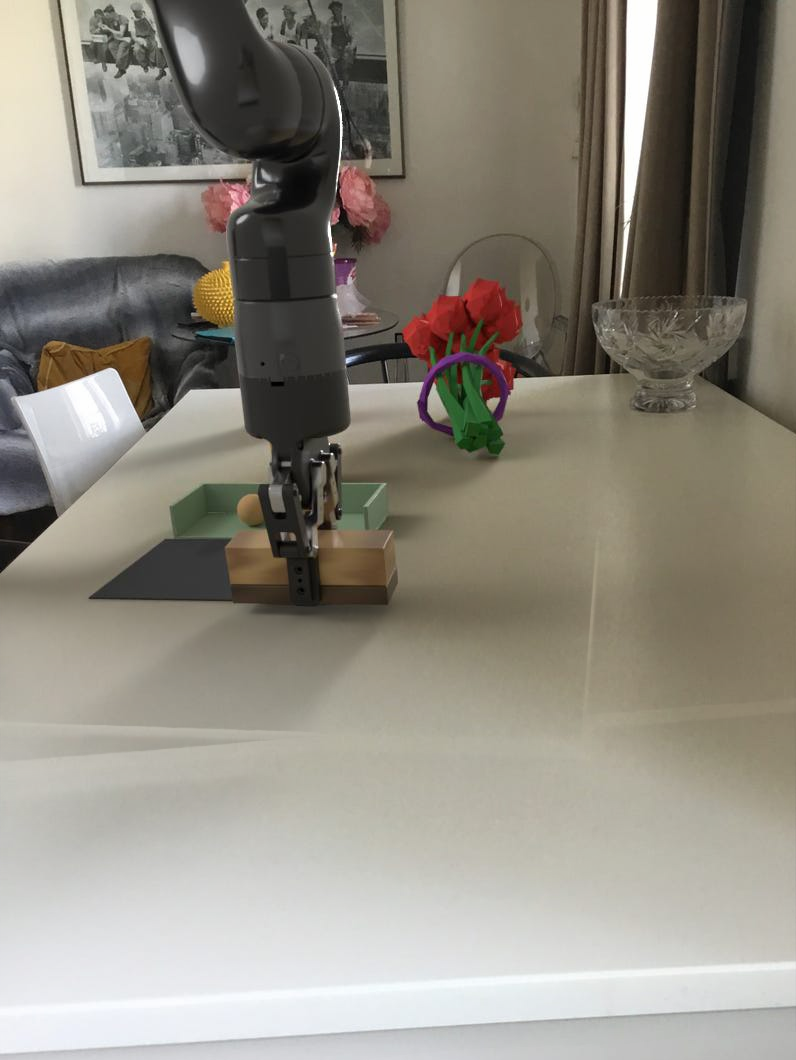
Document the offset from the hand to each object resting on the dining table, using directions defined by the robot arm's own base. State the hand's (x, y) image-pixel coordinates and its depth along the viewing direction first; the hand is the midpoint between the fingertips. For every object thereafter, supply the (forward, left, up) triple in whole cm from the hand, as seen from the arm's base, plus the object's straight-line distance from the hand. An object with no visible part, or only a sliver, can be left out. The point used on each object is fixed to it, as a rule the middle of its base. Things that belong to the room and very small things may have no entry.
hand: (315, 592), depth 80 cm
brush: (0, 0, 0) cm, 0 cm away
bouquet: (+4, +63, -2) cm, 63 cm away
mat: (-9, +9, -1) cm, 13 cm away
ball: (-12, +21, 0) cm, 24 cm away
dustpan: (-9, +25, -1) cm, 27 cm away
